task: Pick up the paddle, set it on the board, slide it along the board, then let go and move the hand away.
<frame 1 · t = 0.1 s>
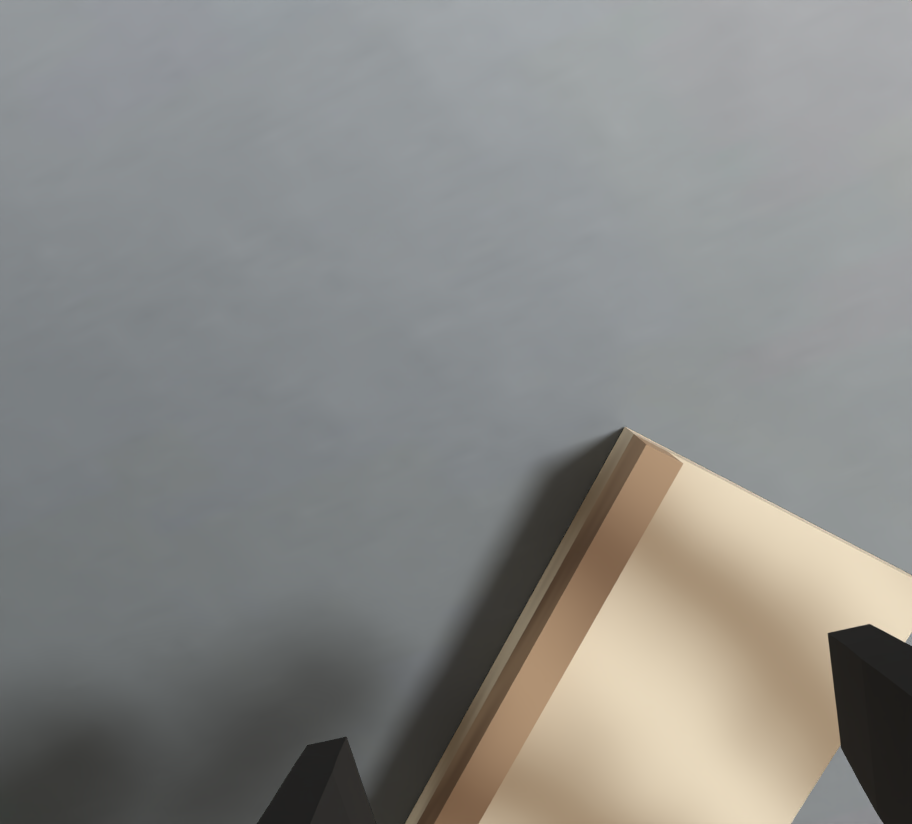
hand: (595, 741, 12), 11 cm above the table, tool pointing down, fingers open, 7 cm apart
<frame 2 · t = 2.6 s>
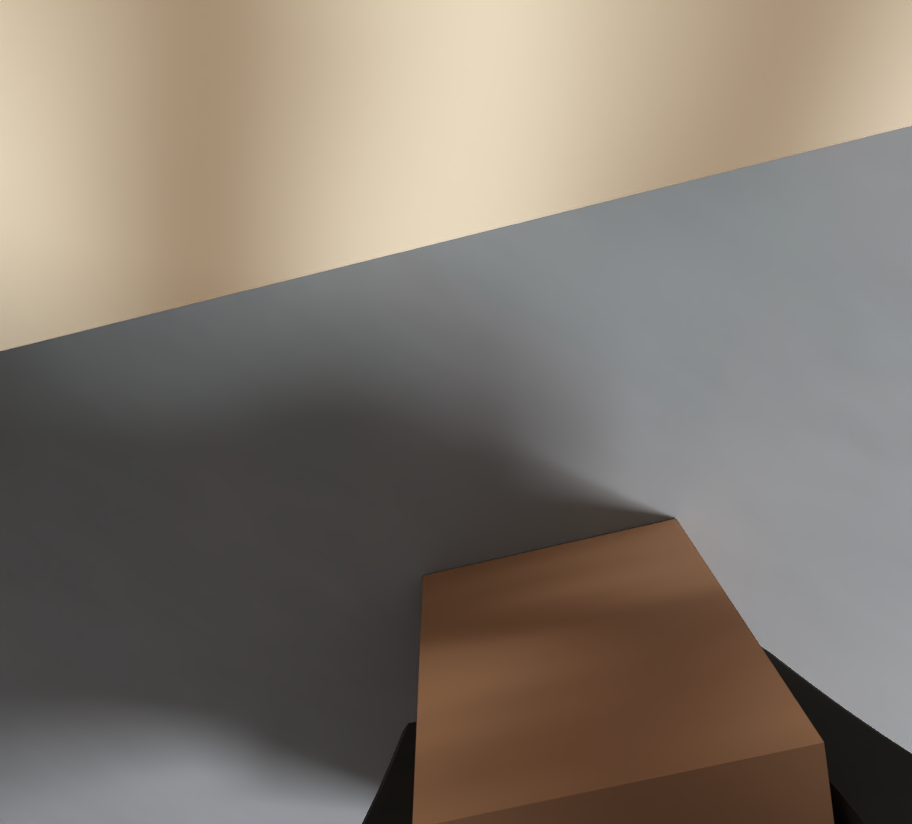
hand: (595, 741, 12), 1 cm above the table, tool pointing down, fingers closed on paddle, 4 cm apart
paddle: (579, 681, 13), on the table, touching gripper
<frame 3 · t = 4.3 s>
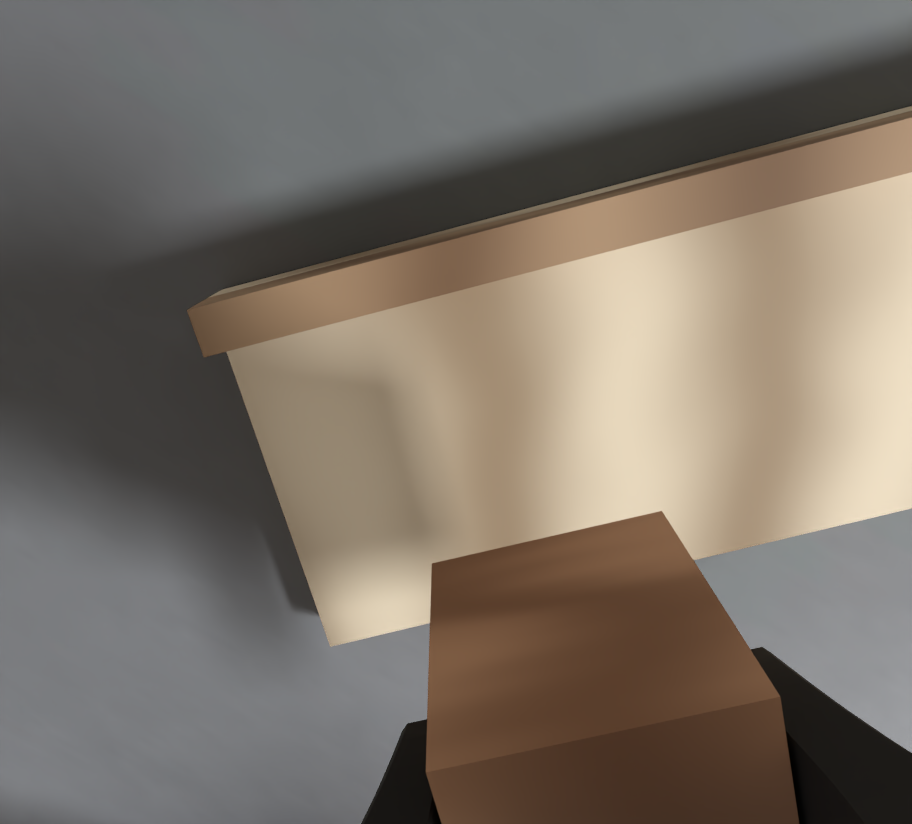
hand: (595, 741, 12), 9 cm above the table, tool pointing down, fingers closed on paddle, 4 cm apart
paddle: (574, 661, 14), point 6 cm above the table, touching gripper
board: (722, 355, 19), on the table
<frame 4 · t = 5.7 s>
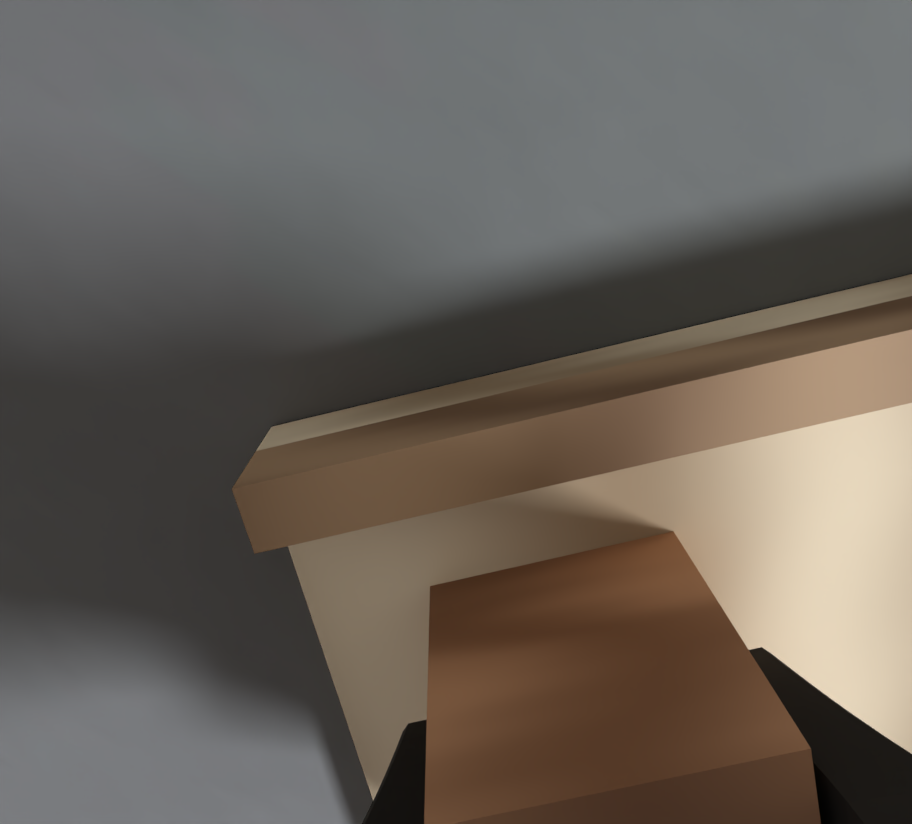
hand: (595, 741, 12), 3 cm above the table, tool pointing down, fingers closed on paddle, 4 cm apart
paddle: (580, 687, 14), point 1 cm above the table, touching board, gripper
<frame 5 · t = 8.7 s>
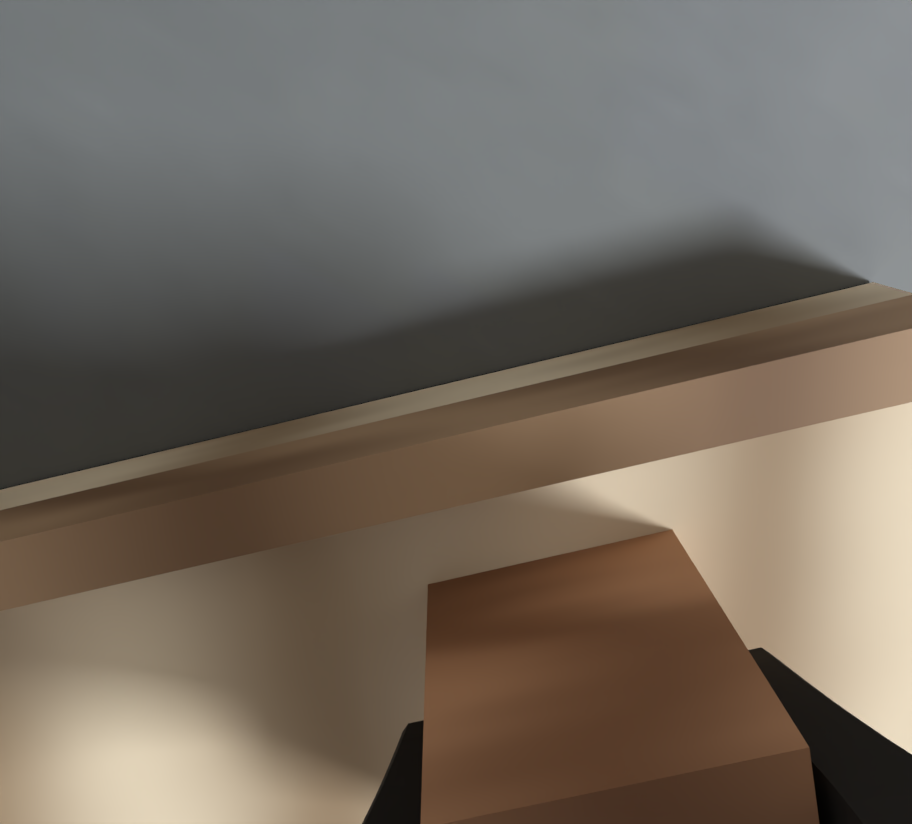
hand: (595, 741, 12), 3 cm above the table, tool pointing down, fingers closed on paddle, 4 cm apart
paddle: (578, 686, 14), point 1 cm above the table, touching board, gripper
board: (294, 663, 15), on the table
when the fingers open (4 cm above the table, at t = 9.7 s): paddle stays where it is, resting on board.
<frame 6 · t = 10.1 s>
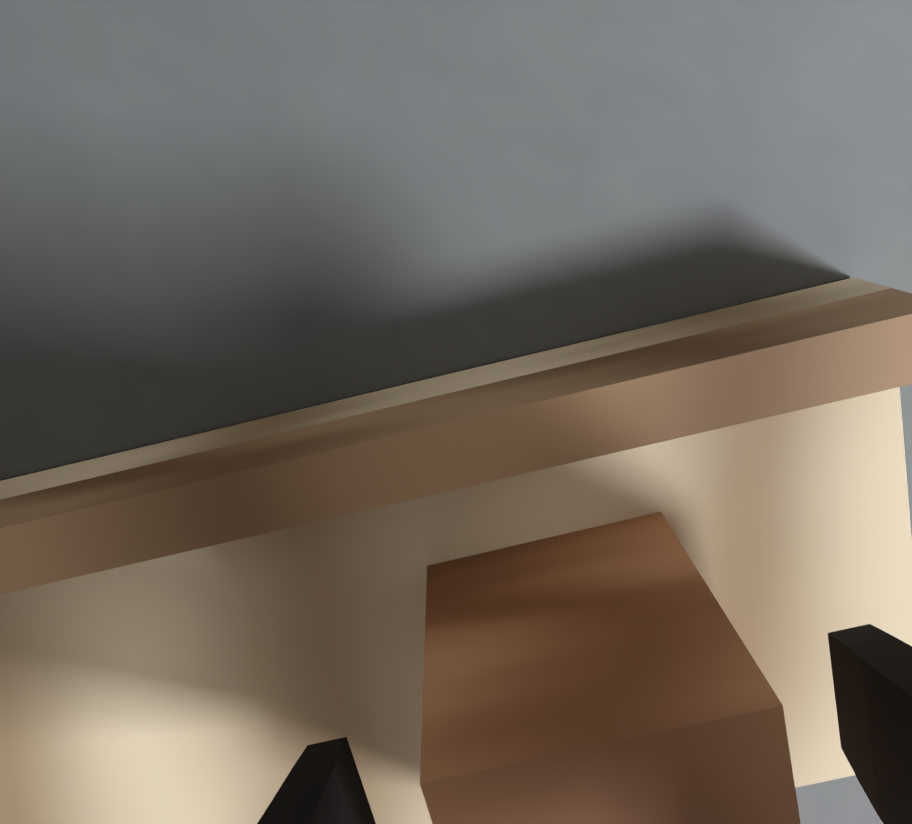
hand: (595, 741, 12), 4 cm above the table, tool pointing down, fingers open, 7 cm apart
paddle: (572, 663, 14), point 1 cm above the table, touching board
board: (298, 645, 15), on the table
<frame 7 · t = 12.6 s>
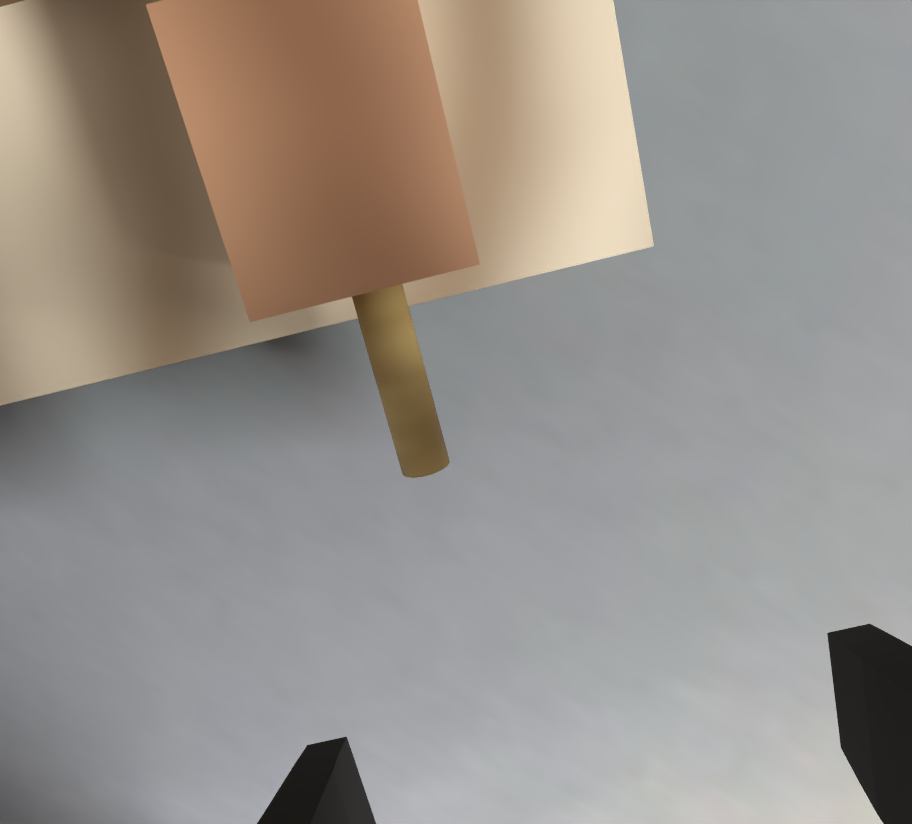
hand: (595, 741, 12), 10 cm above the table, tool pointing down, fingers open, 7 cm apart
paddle: (353, 146, 18), point 1 cm above the table, touching board
board: (142, 163, 19), on the table
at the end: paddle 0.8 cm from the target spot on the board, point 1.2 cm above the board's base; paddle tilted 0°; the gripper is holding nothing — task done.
